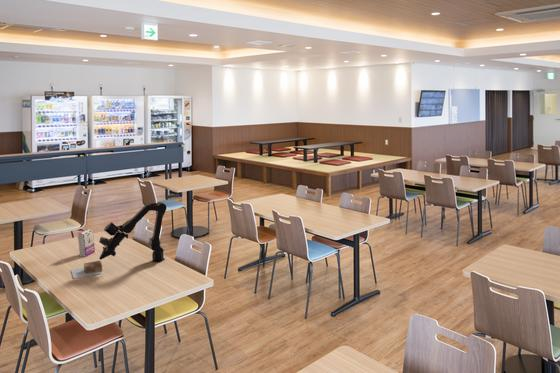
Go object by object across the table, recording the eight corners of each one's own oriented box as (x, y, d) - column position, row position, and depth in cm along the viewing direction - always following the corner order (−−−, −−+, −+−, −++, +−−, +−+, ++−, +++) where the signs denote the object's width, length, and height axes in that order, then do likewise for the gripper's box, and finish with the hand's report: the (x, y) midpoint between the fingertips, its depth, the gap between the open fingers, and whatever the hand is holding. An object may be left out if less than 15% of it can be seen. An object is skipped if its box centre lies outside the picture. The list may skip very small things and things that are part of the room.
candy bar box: (88, 251, 343) (86, 229, 340) (95, 251, 342) (93, 229, 339) (79, 256, 332) (77, 233, 329) (85, 257, 331) (83, 233, 328)
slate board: (97, 266, 313) (97, 265, 313) (101, 273, 299) (101, 273, 299) (71, 270, 305) (70, 269, 305) (73, 278, 292) (73, 278, 291)
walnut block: (100, 260, 309) (83, 263, 304) (101, 263, 302) (84, 266, 298) (100, 267, 309) (84, 270, 305) (102, 270, 303) (85, 273, 299)
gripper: (104, 228, 312) (87, 247, 309) (109, 236, 296) (91, 256, 293) (117, 238, 317) (101, 257, 314) (123, 246, 301) (105, 266, 298)
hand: (99, 259), depth 305 cm, fingers closed
